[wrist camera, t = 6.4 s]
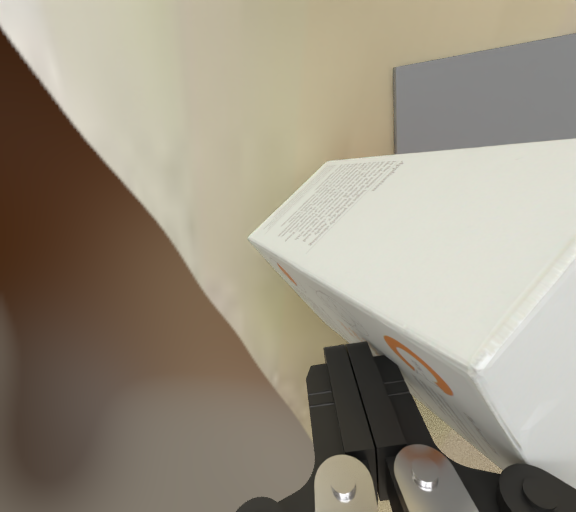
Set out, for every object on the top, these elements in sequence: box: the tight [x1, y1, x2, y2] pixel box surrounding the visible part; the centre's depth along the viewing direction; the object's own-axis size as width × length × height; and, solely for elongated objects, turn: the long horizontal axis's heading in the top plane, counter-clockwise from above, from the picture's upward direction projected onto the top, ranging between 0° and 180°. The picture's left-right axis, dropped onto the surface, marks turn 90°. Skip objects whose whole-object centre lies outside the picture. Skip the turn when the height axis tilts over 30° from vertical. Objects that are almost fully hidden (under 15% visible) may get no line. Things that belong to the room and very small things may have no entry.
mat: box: [393, 33, 576, 154], centre depth 18 cm, size 14×15×1 cm
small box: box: [248, 138, 576, 489], centre depth 13 cm, size 8×6×13 cm
